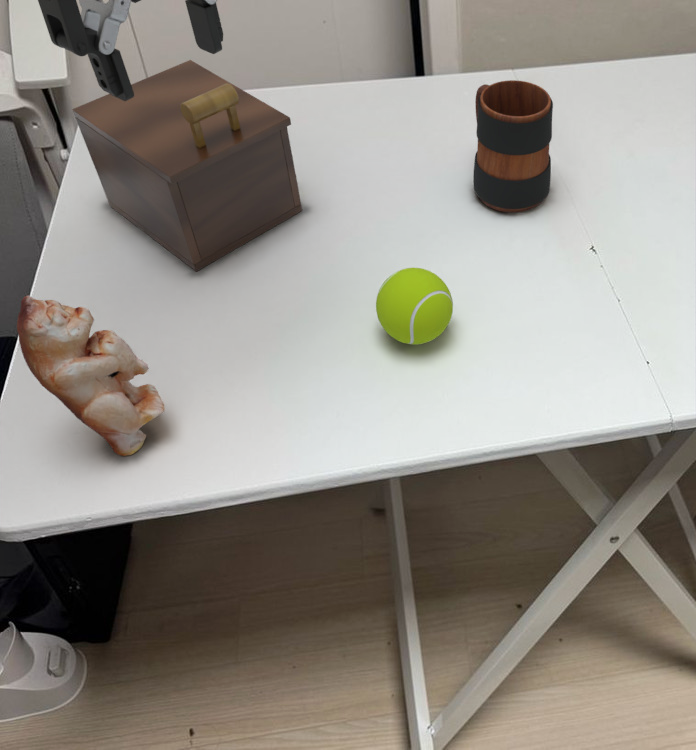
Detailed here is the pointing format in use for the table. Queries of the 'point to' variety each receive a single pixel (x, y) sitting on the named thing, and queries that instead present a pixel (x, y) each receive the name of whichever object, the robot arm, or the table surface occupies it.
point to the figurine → (88, 371)
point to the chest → (202, 196)
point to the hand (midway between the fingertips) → (167, 72)
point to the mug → (513, 145)
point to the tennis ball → (414, 306)
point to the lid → (182, 120)
